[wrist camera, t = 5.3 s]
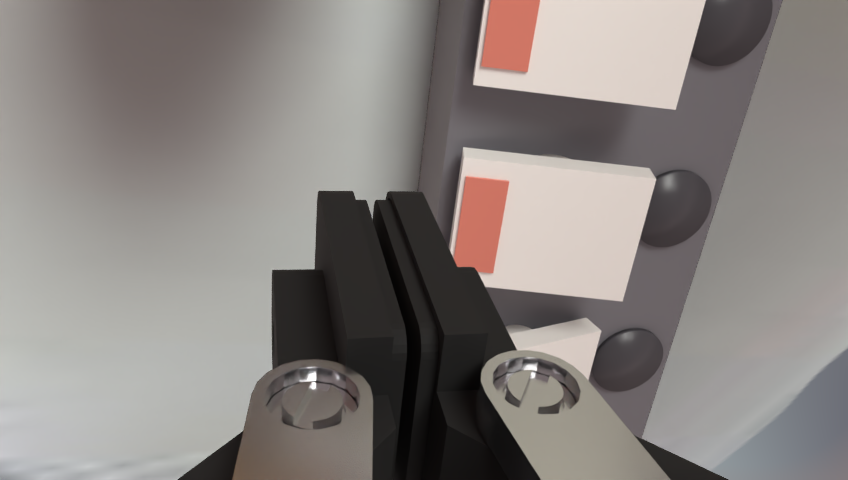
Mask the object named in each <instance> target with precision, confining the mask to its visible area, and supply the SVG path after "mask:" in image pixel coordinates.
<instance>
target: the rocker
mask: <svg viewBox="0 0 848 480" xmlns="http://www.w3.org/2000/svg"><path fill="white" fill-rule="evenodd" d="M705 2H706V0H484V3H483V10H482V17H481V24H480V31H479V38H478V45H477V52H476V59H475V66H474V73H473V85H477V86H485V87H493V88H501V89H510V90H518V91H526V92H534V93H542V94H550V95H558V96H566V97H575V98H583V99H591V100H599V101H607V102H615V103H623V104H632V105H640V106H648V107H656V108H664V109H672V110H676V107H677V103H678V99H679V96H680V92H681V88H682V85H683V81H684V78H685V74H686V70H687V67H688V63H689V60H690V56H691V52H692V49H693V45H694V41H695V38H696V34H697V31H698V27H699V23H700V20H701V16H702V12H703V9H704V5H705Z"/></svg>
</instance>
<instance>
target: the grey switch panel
mask: <svg viewBox="0 0 848 480" xmlns="http://www.w3.org/2000/svg"><path fill="white" fill-rule="evenodd" d="M483 3H484V0H440V5H439V13H438V22H437V31H436V39H435V48H434V56H433V65H432V74H431V82H430V91H429V100H428V108H427V117H426V126H425V134H424V143H423V151H422V160H421V169H420V177H419V186H418V192H422V193H423V194H424V196H425V198H426V200H427V202H428V205H429V207H430V209H431V211H432V213H433V215H434V217H435V220H436V222H437V224H438V226H439V228H440V230H441V233H442V235H443V237H444V239H445V241H446V243H447V245H448V248H449V243H450V236H451V229H452V222H453V215H454V208H455V201H456V194H457V187H458V180H459V173H460V166H461V159H462V152H463V147H467V148H476V149H485V150H493V151H502V152H511V153H520V154H529V155H541V154H554V155H560V156H564V157H566V158H569V159H573V160H582V161H591V162H600V163H609V164H618V165H627V166H635V167H644V168H650V170H651V171H652V173H653V175H654V176H655V178H656V182H655V186H654V190H653V193H652V197H651V200H650V204H649V208H648V211H647V215H646V218H645V222H644V226H643V229H642V233H641V237H640V240H639V244H638V247H637V251H636V255H635V258H634V262H633V266H632V269H631V273H630V276H629V280H628V284H627V287H626V291H625V295H624V298H623V302H622V301H613V300H603V299H594V298H585V297H575V296H566V295H557V294H547V293H538V292H529V291H520V290H510V289H501V288H492V287H486V289H487V291H488V293H489V295H490V297H491V299H492V301H493V303H494V305H495V307H496V309H497V311H498V313H499V315H500V317H501V319H502V321H503V323H504V325H505V327H506V326H508V325H523V326H526V327H529V328H531V329H536V328H541V327H546V326H550V325H555V324H559V323H564V322H569V321H573V320H578V319H582V318H587V319H589V320H590V321H591V322H592V323H593V324H594V325H595V326H597V327H598V328H599V329H600V330H601V334H600V338H599V342H598V346H597V349H596V353H595V357H594V361H593V364H592V368H591V372H590V376H589V379H588V381H589V382H590V383H591V384H592V386H593V387H594V388H595V389H596V390H597V392H598V393H599V394H600V395H601V396H602V398H603V399H604V400H605V401H606V402H607V404H608V405H609V406H610V407H611V408H612V410H613V411H614V412H615V413H616V415H617V416H618V417H619V418H620V419H621V421H622V422H623V423H624V424H625V425H626V427H627V428H628V429H629V430H630V431H631V433H632V434H633V435H635V436H637V437H639V438H642V435H643V432H644V429H645V425H646V422H647V419H648V416H649V413H650V410H651V407H652V404H653V401H654V398H655V394H656V391H657V388H658V385H659V382H660V379H661V376H662V373H663V370H664V367H665V363H666V360H667V357H668V354H669V351H670V348H671V345H672V342H673V339H674V335H675V332H676V329H677V326H678V323H679V320H680V317H681V314H682V311H683V308H684V304H685V301H686V298H687V295H688V292H689V289H690V286H691V283H692V280H693V277H694V273H695V270H696V267H697V264H698V261H699V258H700V255H701V252H702V249H703V246H704V242H705V239H706V236H707V233H708V230H709V227H710V224H711V221H712V218H713V214H714V211H715V208H716V205H717V202H718V199H719V196H720V193H721V190H722V187H723V183H724V180H725V177H726V174H727V171H728V168H729V165H730V162H731V159H732V156H733V152H734V149H735V146H736V143H737V140H738V137H739V134H740V131H741V128H742V125H743V121H744V118H745V115H746V112H747V109H748V106H749V103H750V100H751V97H752V94H753V90H754V87H755V84H756V81H757V78H758V75H759V72H760V69H761V66H762V62H763V59H764V56H765V53H766V50H767V47H768V44H769V41H770V38H771V35H772V31H773V28H774V25H775V22H776V19H777V16H778V13H779V10H780V7H781V4H782V0H706V2H705V5H704V9H703V12H702V16H701V20H700V23H699V27H698V31H697V34H696V38H695V41H694V45H693V49H692V52H691V56H690V60H689V63H688V67H687V70H686V74H685V78H684V81H683V85H682V88H681V92H680V96H679V99H678V103H677V107H676V110H672V109H664V108H656V107H648V106H640V105H632V104H623V103H615V102H607V101H599V100H591V99H583V98H575V97H566V96H558V95H550V94H542V93H534V92H526V91H518V90H510V89H501V88H493V87H485V86H477V85H473V73H474V66H475V59H476V52H477V45H478V38H479V31H480V24H481V17H482V10H483Z"/></svg>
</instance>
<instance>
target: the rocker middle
mask: <svg viewBox="0 0 848 480" xmlns="http://www.w3.org/2000/svg"><path fill="white" fill-rule="evenodd" d="M655 182H656V178H655V176H654V175H653V173H652V171H651V170H650V168H644V167H635V166H627V165H618V164H609V163H600V162H591V161H582V160H573V159H569V158H566V157H564V156H560V155H554V154H541V155H529V154H520V153H511V152H502V151H493V150H485V149H476V148H467V147H463V152H462V159H461V166H460V173H459V180H458V187H457V194H456V201H455V208H454V215H453V222H452V229H451V236H450V243H449V250H450V252H451V254H452V256H453V258H454V260H455V263H456V265H457V267H474V268H475V269H476V270H477V272H478V274H479V275H480V277H481V279H482V281H483V283H484V285H485V287H492V288H501V289H510V290H520V291H529V292H538V293H547V294H557V295H566V296H575V297H585V298H594V299H603V300H613V301H622V302H623V298H624V295H625V291H626V287H627V284H628V280H629V276H630V273H631V269H632V266H633V262H634V258H635V255H636V251H637V247H638V244H639V240H640V237H641V233H642V229H643V226H644V222H645V218H646V215H647V211H648V208H649V204H650V200H651V197H652V193H653V190H654V186H655Z"/></svg>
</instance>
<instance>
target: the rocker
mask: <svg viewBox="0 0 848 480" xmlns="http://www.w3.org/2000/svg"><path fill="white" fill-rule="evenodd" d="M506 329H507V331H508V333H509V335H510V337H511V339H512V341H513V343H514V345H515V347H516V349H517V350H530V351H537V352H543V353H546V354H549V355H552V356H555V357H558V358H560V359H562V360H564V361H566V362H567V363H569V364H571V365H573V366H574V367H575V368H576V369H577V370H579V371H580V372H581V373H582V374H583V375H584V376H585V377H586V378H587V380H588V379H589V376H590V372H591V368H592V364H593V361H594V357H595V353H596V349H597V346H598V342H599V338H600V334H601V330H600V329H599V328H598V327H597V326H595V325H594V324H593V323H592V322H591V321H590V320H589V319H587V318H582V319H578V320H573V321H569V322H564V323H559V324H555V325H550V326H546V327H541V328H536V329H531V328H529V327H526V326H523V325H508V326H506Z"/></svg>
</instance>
